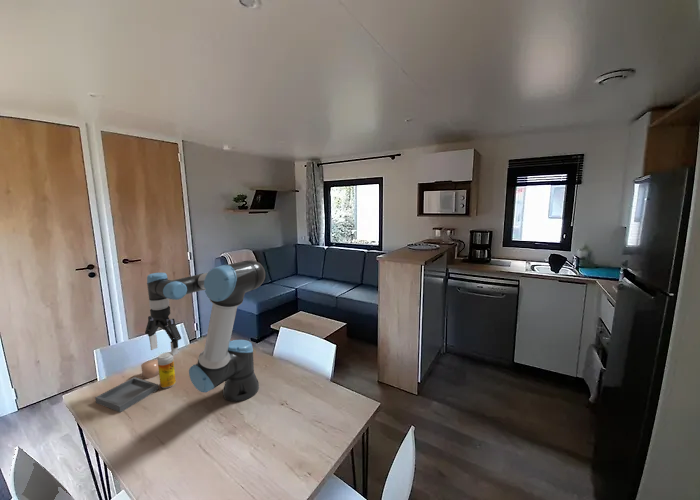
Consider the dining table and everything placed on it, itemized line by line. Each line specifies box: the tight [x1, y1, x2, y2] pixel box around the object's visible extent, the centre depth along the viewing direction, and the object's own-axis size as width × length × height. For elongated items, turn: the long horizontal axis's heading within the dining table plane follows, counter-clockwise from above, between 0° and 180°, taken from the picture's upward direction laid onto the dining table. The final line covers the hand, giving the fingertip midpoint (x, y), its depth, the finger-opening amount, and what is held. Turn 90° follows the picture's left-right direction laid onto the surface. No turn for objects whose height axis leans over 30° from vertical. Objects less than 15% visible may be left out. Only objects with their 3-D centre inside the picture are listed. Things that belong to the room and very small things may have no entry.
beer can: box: [157, 351, 177, 389], centre depth 136 cm, size 6×6×15 cm
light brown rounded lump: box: [140, 359, 159, 380], centre depth 145 cm, size 7×7×6 cm
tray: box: [95, 376, 160, 413], centre depth 129 cm, size 16×16×3 cm
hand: (164, 351), depth 134 cm, fingers open, 13 cm apart
